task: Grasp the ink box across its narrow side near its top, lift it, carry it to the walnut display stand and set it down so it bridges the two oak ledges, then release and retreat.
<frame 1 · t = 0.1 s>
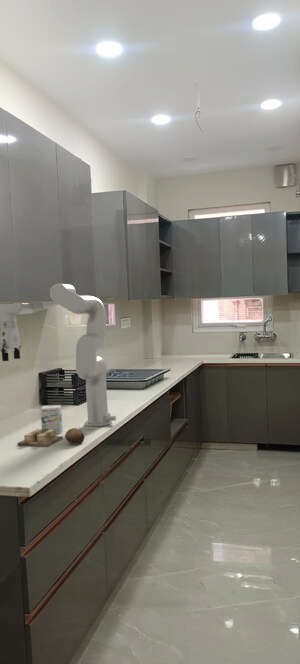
hand: (11, 359, 250), 31 cm above the worktop, fingers open, 9 cm apart
ink box: (52, 433, 225), on the worktop
display stand: (40, 442, 209), on the worktop
mushroom: (75, 443, 204), on the worktop
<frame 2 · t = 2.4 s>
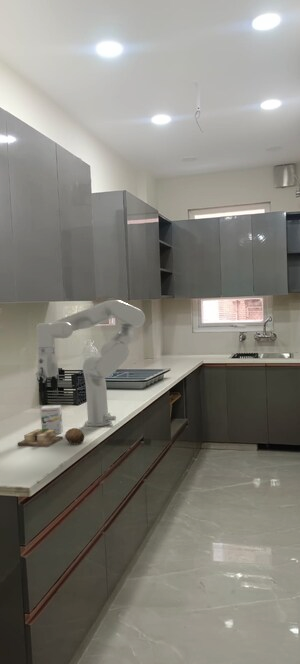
hand: (48, 389, 223), 19 cm above the worktop, fingers open, 9 cm apart
nothing on the worktop moved.
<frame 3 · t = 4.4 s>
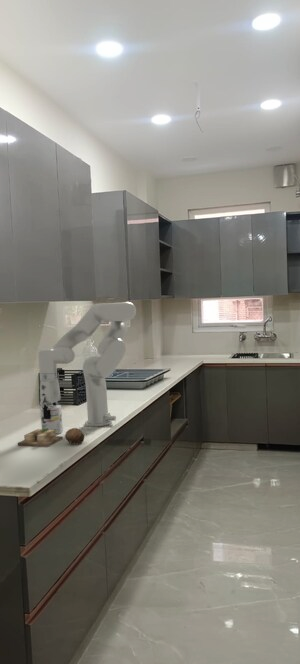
hand: (51, 416, 224), 7 cm above the worktop, fingers closed on ink box, 6 cm apart
ink box: (52, 433, 225), on the worktop, touching gripper
everything else where it was.
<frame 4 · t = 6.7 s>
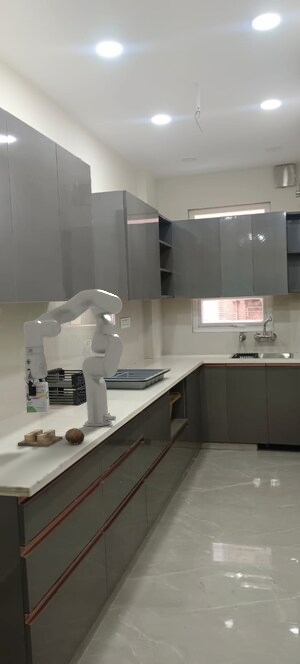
hand: (37, 394, 209), 20 cm above the worktop, fingers closed on ink box, 6 cm apart
ink box: (38, 411, 209), point 13 cm above the worktop, touching gripper
everything else where it was.
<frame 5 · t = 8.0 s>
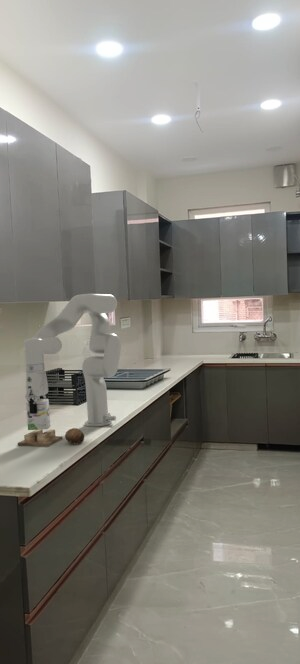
hand: (38, 411, 209), 13 cm above the worktop, fingers closed on ink box, 6 cm apart
ink box: (39, 428, 209), point 6 cm above the worktop, touching gripper
everything else where it was.
when the fingers open (12 cm above the worktop, at t = 9.0 s): ink box stays where it is, resting on display stand.
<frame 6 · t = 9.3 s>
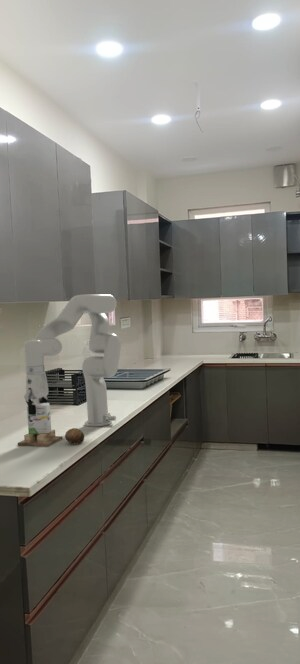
hand: (38, 411, 209), 13 cm above the worktop, fingers open, 8 cm apart
ink box: (40, 432, 209), point 4 cm above the worktop, touching display stand
everything else where it was.
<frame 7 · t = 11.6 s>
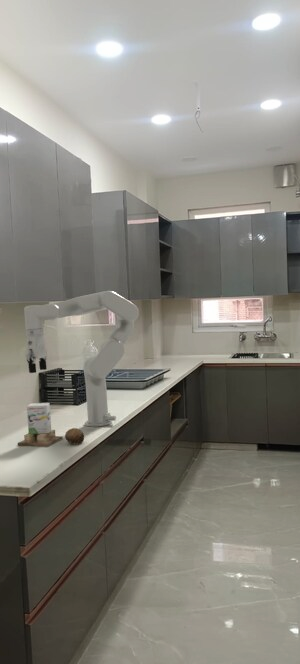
hand: (38, 371, 227), 27 cm above the worktop, fingers open, 9 cm apart
nothing on the worktop moved.
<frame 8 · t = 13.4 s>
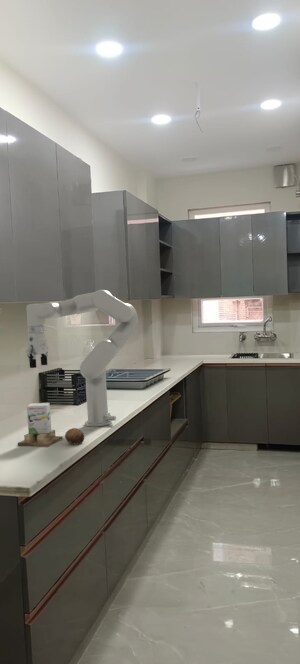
hand: (38, 366, 239), 28 cm above the worktop, fingers open, 9 cm apart
nothing on the worktop moved.
at the end: ink box inside the target area on the display stand (0.2 cm from its centre), point 3.8 cm above the display stand's base; ink box tilted 0°; the gripper is holding nothing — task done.
